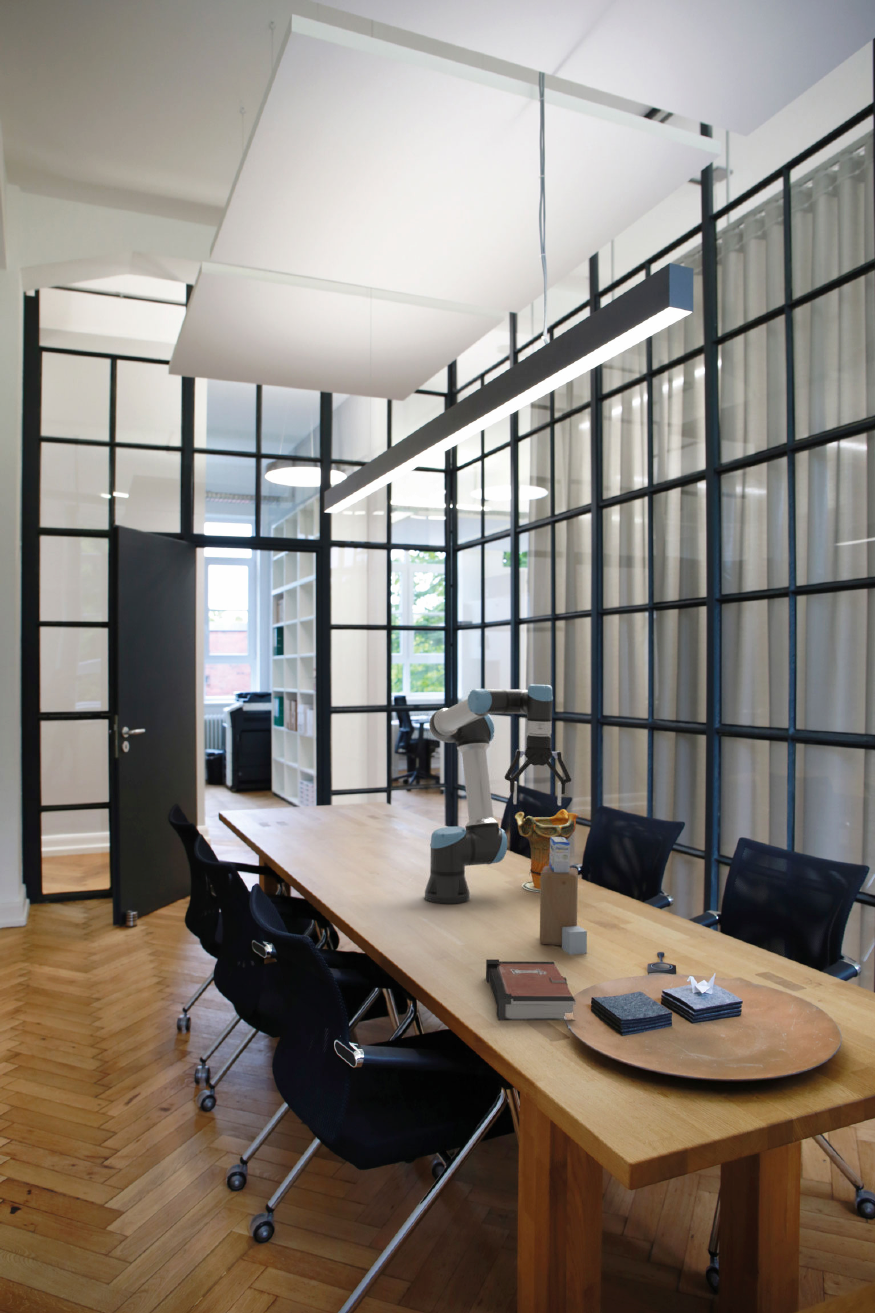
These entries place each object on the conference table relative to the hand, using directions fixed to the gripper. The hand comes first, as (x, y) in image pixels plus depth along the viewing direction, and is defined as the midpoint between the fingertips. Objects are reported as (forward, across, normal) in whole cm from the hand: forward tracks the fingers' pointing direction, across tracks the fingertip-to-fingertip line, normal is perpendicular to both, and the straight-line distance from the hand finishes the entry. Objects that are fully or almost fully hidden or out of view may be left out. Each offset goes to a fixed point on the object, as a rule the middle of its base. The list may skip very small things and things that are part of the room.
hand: (536, 804), depth 259 cm
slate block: (+35, +8, -28) cm, 46 cm away
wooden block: (+36, +5, -19) cm, 41 cm away
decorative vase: (+37, +9, +44) cm, 58 cm away
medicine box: (+16, +5, -18) cm, 25 cm away
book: (+35, -8, -63) cm, 73 cm away
